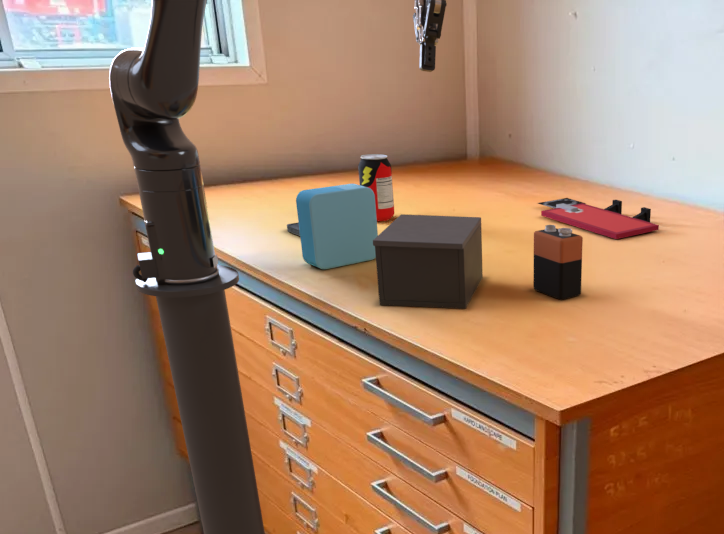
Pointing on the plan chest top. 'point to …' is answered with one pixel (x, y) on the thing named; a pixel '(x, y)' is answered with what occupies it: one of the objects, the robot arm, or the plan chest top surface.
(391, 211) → the beverage can
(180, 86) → the robot arm
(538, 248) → the battery
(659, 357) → the plan chest top surface
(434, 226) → the lid
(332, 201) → the data package
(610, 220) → the red board with handle
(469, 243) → the chest
